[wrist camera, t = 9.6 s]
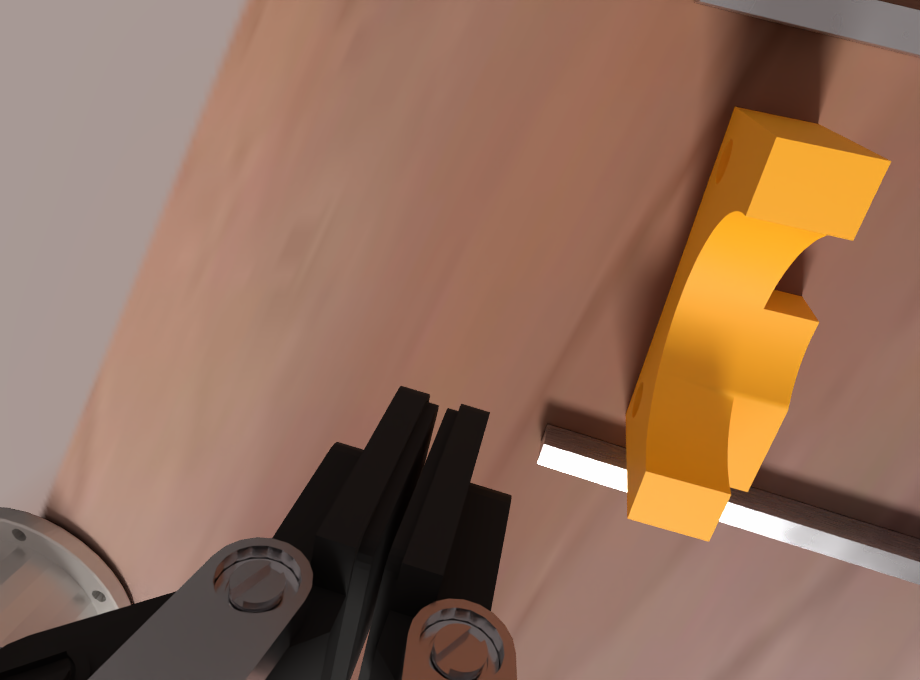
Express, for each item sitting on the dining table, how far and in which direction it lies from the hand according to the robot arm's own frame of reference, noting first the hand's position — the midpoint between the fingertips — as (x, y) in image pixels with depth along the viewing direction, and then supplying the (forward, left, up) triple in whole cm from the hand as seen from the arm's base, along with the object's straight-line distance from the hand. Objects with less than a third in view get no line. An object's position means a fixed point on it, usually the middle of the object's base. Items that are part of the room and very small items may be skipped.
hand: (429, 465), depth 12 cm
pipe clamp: (0, -8, -14) cm, 16 cm away
